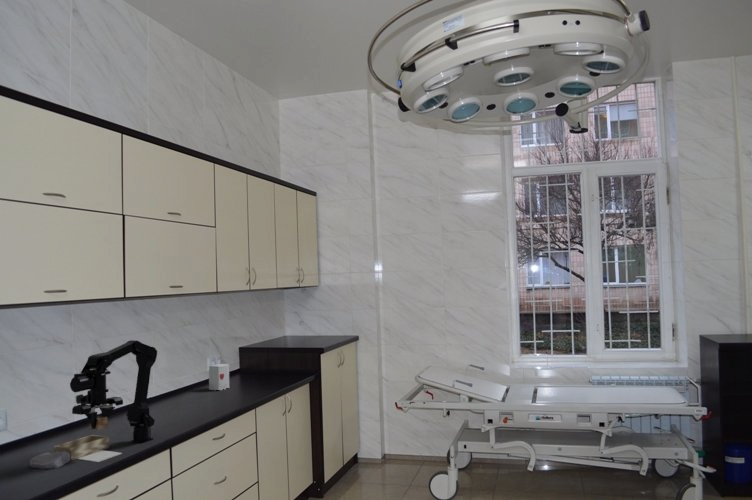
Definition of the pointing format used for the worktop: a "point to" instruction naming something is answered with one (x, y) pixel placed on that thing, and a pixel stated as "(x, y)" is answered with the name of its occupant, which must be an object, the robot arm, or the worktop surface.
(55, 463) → the stone block
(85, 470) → the worktop surface
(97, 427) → the walnut block
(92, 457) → the grey mat
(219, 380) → the supplement box
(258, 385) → the worktop surface
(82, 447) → the slot box
